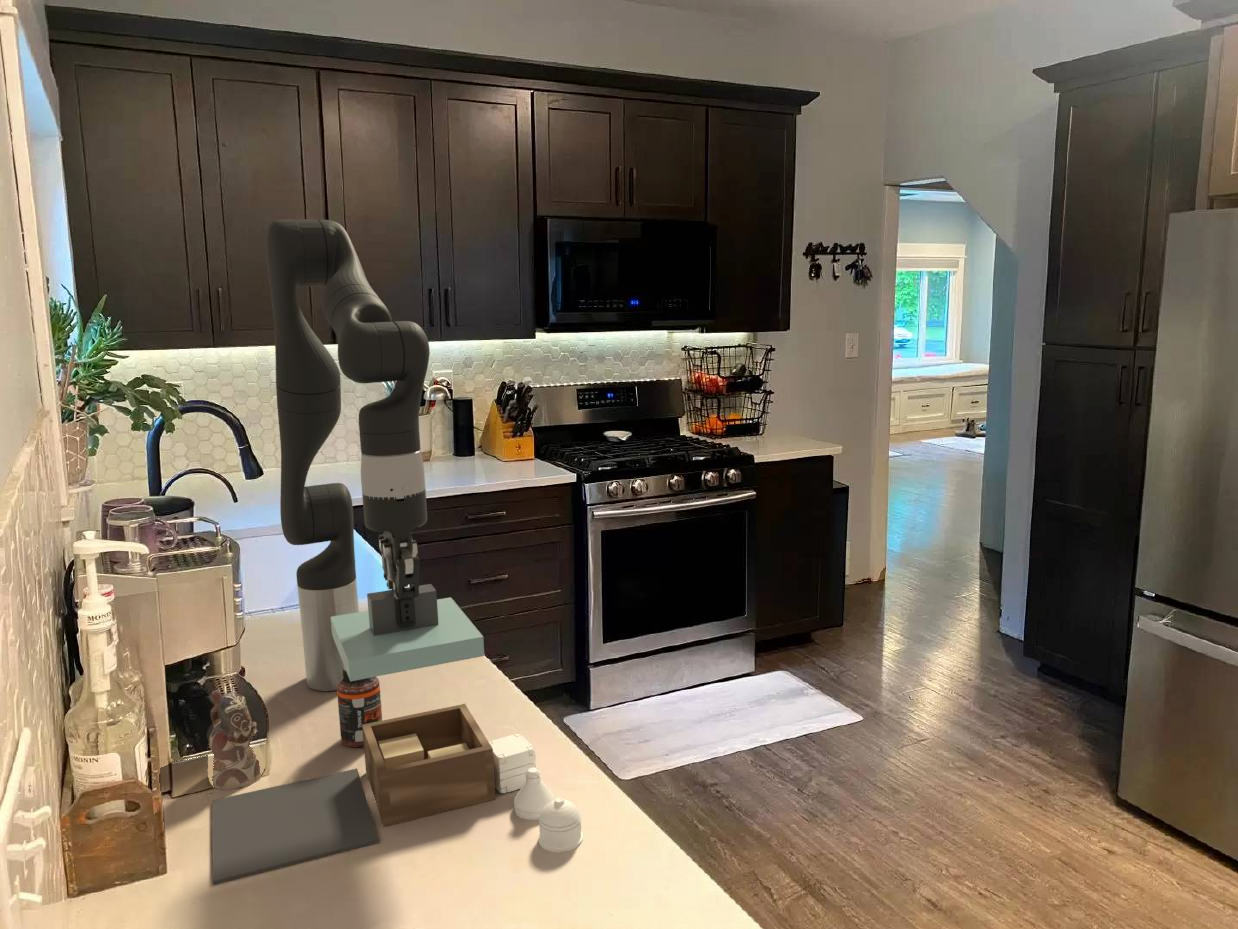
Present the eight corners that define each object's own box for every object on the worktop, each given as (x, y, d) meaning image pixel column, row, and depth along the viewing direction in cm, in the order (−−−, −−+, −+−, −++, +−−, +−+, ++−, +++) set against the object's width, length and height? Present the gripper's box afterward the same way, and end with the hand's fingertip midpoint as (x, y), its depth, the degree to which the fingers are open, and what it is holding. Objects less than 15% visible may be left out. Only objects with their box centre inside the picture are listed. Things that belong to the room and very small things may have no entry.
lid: (332, 635, 121) (327, 583, 119) (452, 614, 127) (448, 565, 126) (350, 681, 107) (345, 623, 105) (484, 656, 113) (481, 601, 111)
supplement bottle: (372, 750, 131) (365, 675, 129) (333, 747, 132) (326, 673, 130) (390, 730, 137) (385, 658, 134) (353, 728, 138) (347, 656, 136)
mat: (212, 803, 118) (212, 800, 118) (357, 771, 125) (357, 768, 125) (213, 884, 102) (213, 881, 102) (379, 842, 109) (379, 839, 109)
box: (366, 772, 125) (361, 724, 124) (467, 750, 130) (464, 703, 129) (383, 827, 112) (379, 774, 111) (495, 799, 118) (492, 748, 116)
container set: (485, 780, 123) (483, 742, 122) (522, 769, 125) (520, 732, 124) (550, 859, 106) (548, 815, 105) (590, 845, 108) (589, 802, 107)
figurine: (230, 795, 120) (220, 709, 118) (196, 781, 124) (186, 698, 121) (276, 770, 126) (267, 688, 124) (242, 757, 130) (233, 677, 127)
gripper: (353, 480, 118) (364, 609, 121) (372, 503, 105) (383, 646, 108) (412, 474, 121) (421, 600, 124) (437, 495, 108) (446, 635, 111)
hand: (403, 621), depth 116 cm, fingers closed on lid, 3 cm apart
